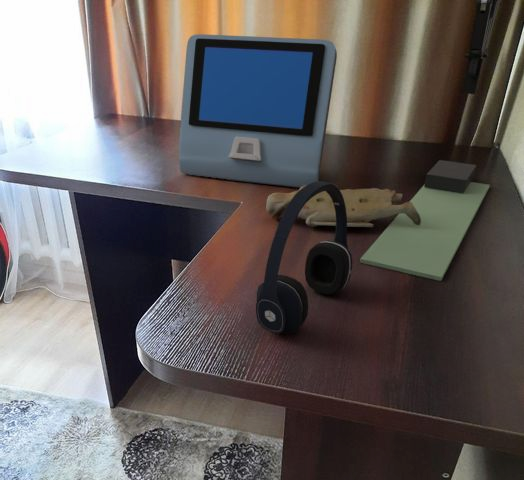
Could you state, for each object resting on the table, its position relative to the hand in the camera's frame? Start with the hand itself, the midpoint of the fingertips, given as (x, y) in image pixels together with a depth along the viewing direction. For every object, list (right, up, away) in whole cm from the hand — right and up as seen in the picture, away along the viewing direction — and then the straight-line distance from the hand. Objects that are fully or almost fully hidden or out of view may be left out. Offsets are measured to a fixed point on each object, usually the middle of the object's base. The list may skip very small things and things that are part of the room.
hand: (468, 93), depth 108 cm
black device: (+5, -9, +19) cm, 22 cm away
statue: (-28, -29, -6) cm, 41 cm away
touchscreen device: (-46, -10, +21) cm, 51 cm away
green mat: (-8, -28, -2) cm, 29 cm away
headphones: (-38, -49, -33) cm, 70 cm away
